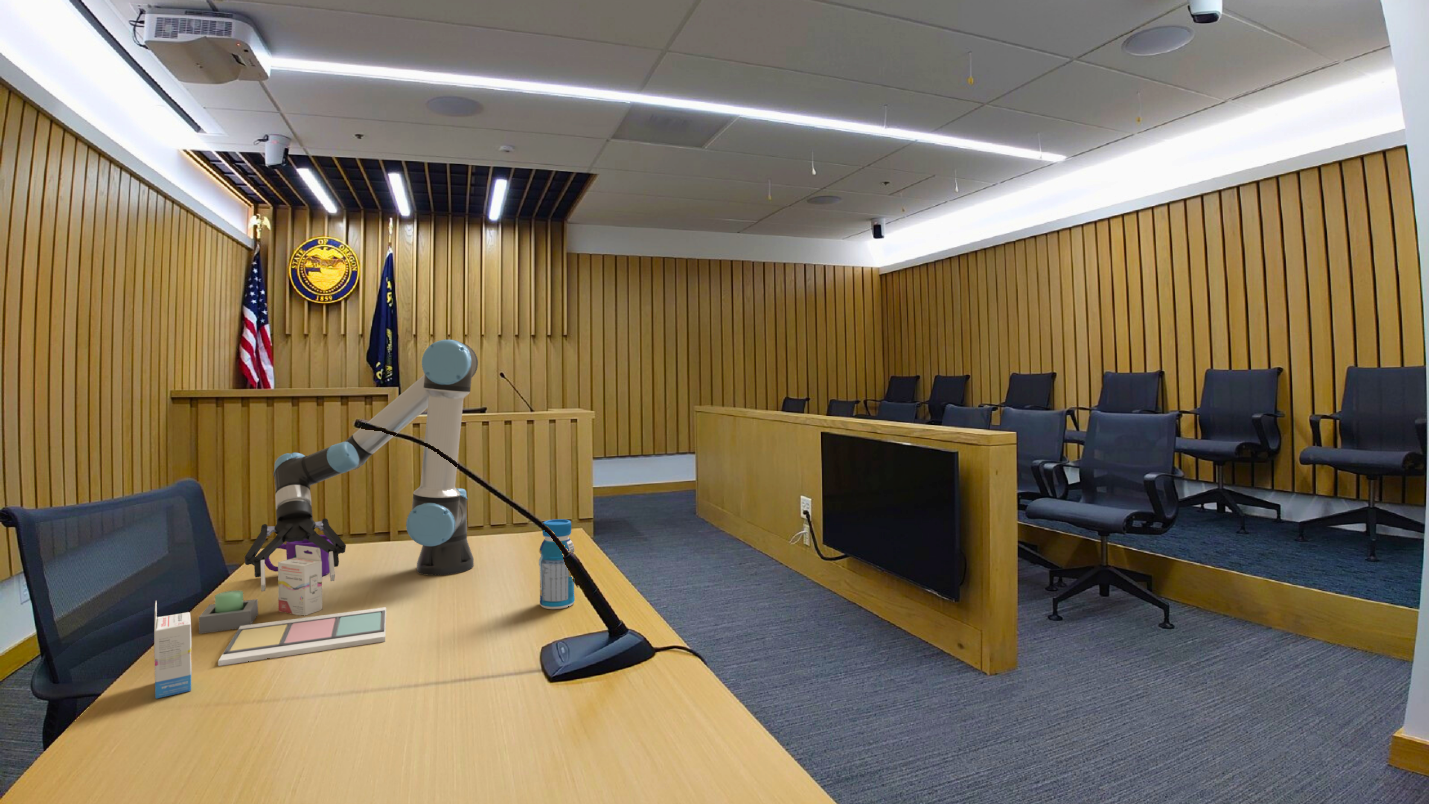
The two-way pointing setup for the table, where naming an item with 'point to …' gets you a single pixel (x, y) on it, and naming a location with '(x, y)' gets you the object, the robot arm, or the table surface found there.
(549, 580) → the beverage bottle
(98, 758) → the table surface
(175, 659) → the ink box
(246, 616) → the button housing
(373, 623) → the colored panel board
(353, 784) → the table surface
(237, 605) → the button
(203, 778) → the table surface
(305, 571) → the ink cartridge box
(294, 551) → the mug
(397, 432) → the robot arm
